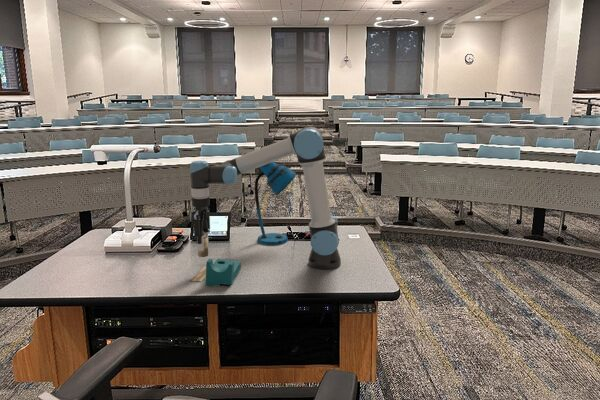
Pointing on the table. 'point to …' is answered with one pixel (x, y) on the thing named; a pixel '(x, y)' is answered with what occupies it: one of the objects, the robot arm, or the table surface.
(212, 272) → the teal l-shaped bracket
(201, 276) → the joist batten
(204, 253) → the awl
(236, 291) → the table surface
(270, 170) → the desk lamp
